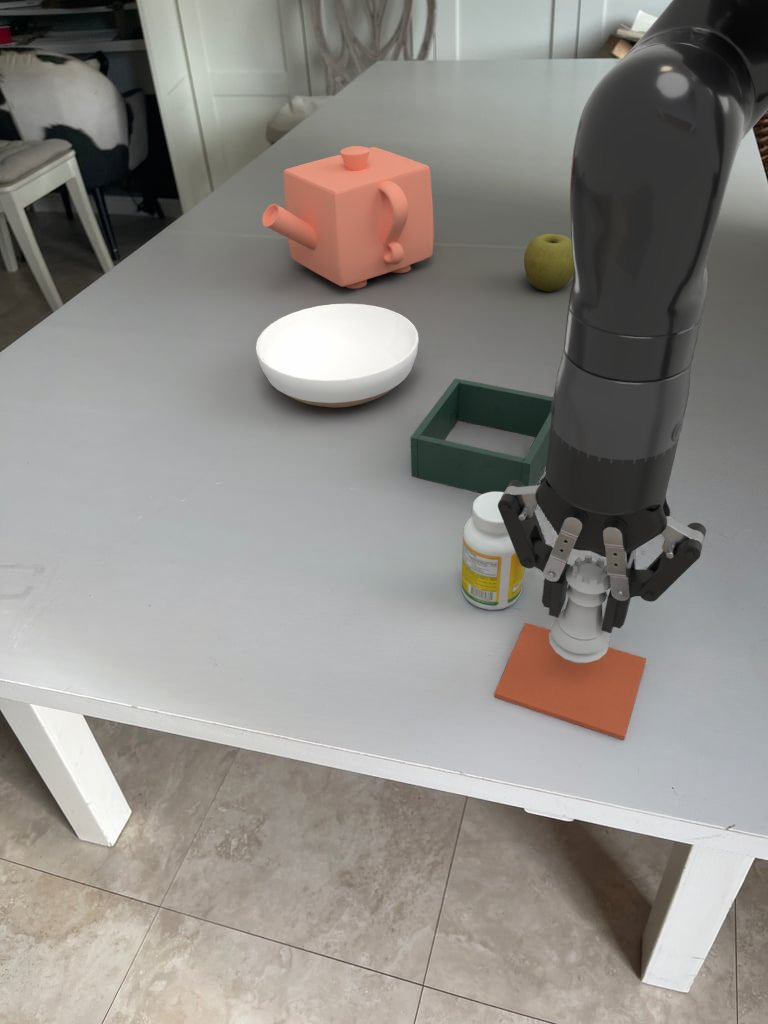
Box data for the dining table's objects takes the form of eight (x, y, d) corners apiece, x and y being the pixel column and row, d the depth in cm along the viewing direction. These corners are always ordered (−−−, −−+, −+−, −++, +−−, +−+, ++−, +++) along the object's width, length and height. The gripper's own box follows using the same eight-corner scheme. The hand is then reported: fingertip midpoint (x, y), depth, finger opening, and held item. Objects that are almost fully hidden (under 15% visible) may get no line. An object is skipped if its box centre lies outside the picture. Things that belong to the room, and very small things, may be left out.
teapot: (315, 322, 114) (301, 193, 102) (238, 273, 128) (219, 155, 117) (451, 273, 124) (452, 151, 113) (367, 233, 139) (360, 122, 127)
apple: (580, 279, 121) (585, 232, 116) (566, 301, 115) (571, 252, 111) (531, 272, 123) (534, 226, 119) (515, 293, 118) (518, 246, 113)
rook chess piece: (620, 651, 60) (638, 574, 55) (574, 676, 59) (587, 599, 54) (581, 613, 63) (594, 538, 58) (536, 636, 62) (545, 560, 57)
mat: (645, 662, 65) (646, 658, 64) (624, 740, 59) (625, 736, 59) (525, 626, 68) (525, 622, 68) (494, 697, 63) (494, 693, 62)
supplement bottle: (472, 617, 69) (475, 533, 63) (453, 575, 73) (454, 492, 67) (531, 604, 70) (540, 520, 64) (509, 564, 74) (515, 481, 68)
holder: (560, 437, 89) (565, 399, 86) (526, 504, 81) (530, 464, 77) (454, 415, 94) (454, 377, 90) (411, 476, 85) (410, 437, 82)
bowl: (232, 382, 102) (224, 338, 98) (353, 332, 111) (350, 289, 107) (325, 447, 90) (320, 400, 86) (452, 384, 99) (452, 339, 95)
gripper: (748, 410, 48) (690, 609, 59) (521, 368, 53) (506, 558, 64) (732, 481, 43) (671, 684, 54) (482, 427, 48) (473, 623, 59)
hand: (582, 615), depth 59 cm, fingers closed on rook chess piece, 3 cm apart
